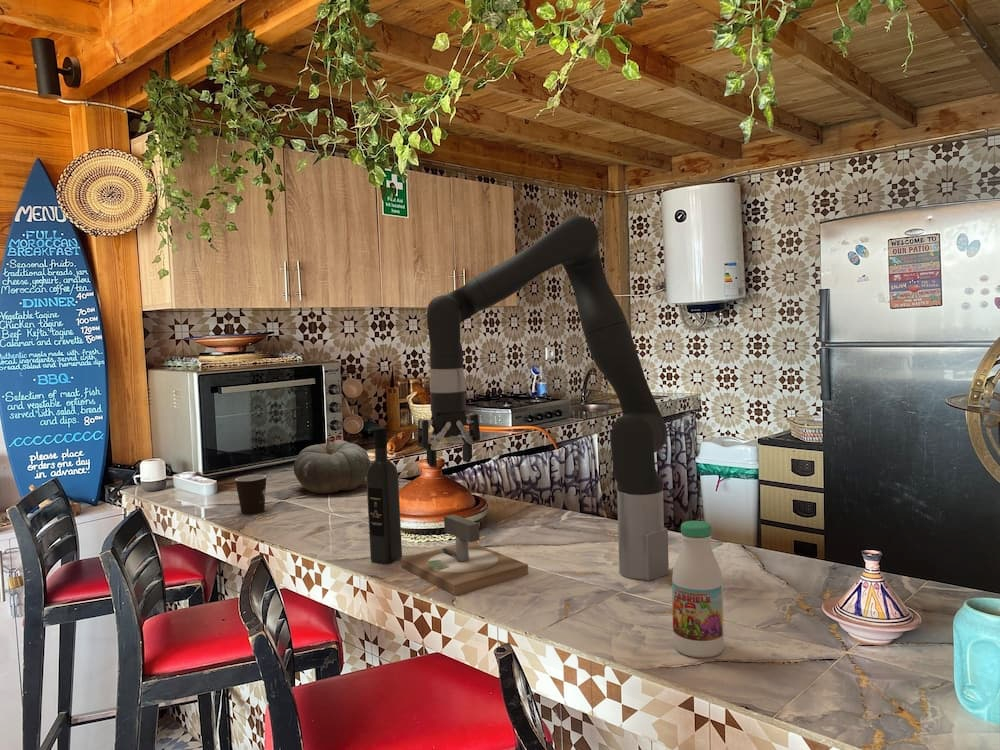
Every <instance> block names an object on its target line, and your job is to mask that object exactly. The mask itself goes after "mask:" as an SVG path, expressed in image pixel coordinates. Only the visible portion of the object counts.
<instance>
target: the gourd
mask: <svg viewBox="0 0 1000 750" xmlns="http://www.w3.org/2000/svg"><path fill="white" fill-rule="evenodd" d="M325 441H326V443H320V444H319V443H318V444H314V445H309V446H307V447H305V448H303V449H302V450H301V451H299V453H298V455H297V457H296V459H295V461H294V463H293V464H294V465H293V472H294V475H295V478H296V479H297V480H298V482H299V483H300V485H301V486H302V487H303V488H305V490H307V491H309V492H311V493H316V494H323V495H324V494H333V493H338V492H339V491H344V492H345V491H346V492H348V491H349V492H350V491H353V490H355V489H357V488H358V487H359V486H360V485H361V484H362V483H363V482H364V480H365V479H366V475H367V470H368V468H369V466H370V465H371V464H372V462H371V460H370V458H369V454H368V452H367V450H366V449H364V448H363V447H361V446H359V444H356V443H350V442H348V441H347V440H342V439H336V440H334V441H333V442H332V441H330V439H329V437H326V439H325Z"/></svg>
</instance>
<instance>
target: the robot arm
mask: <svg viewBox="0 0 1000 750" xmlns="http://www.w3.org/2000/svg"><path fill="white" fill-rule="evenodd" d="M599 242H600V235H599V230H598V228H597V226H596V224H595V223H594V222H593V221H592V220H591V219H590V218H588V217H585V216H582V215H575V216H571V217H568V218H567V219H564V220H563V221H561V223H559V224H557V225H556V226H555V227H554V228H552V229H551V230H550V231H549V232H548V233H546V234H545V235H544V236H543V237H541V238H539V239H538V240H537V241H535V242H534V243H532V244H531V245H530V246H528V247H526V248H525V249H523V250H521V251H520V252H518V253H516V254H515V255H513V256H512V257H509V258H508V259H506V260H504V261H503V262H500V263H499V264H497V265H495V266H492V268H489V269H486V271H484V272H482V273H480V274H478V275H476V276H474V277H473V278H471V279H469V280H468V281H467V282H466V283H465V284H464V285H462V286H460V287H458V288H457V289H454V290H452V291H451V292H449V293H447V294H443V295H437V296H436V297H435V296H434V297H433V298H432V299H431V300H430V301H429V303H428V305H427V309H426V324H427V332H428V339H429V365H430V366H429V367H430V371H429V372H430V373H429V397H430V399H429V400H430V412H431V418H430V419H423V418H418V420H417V446H418V448H422V449H425V451H426V463H427V465H429V468H433V469H434V468H437V466H438V459H437V457H438V456H437V447H438V445H439V443H441V442H442V440H443V439H444V438H445V439H447V438H450V437H458V438H459V439H460V440H461V442H462V443H463V444H462V445H461V448H462V461H463V462H464V463H471V461H472V459H473V444H474V443H475V442H479V441H480V440H481V435H480V434H481V431H480V421H479V414H476V413H471V412H469V413H467V414H466V409H467V404H466V403H467V401H466V378H465V377H466V376H465V372H464V352H463V346H462V343H461V323H463V322H464V321H466V320H468V319H469V318H471V317H473V316H474V315H476V314H478V313H479V312H481V311H484V310H486V309H488V308H490V307H492V306H494V305H496V304H497V303H500V302H501V301H504V300H505V299H507V298H509V297H511V296H512V295H514V294H516V293H517V292H518V291H520V290H521V289H523V288H524V287H525V286H526V285H528V284H529V283H530V282H531V281H532V280H534V279H535V278H537V277H538V276H540V275H541V274H543V273H545V272H546V271H549V270H550V269H552V268H554V267H557V266H559V265H562V267H563V270H564V271H565V273H566V275H567V277H568V279H569V283H570V284H571V286H572V289H573V293H574V296H575V300H576V306H577V311H578V315H579V316H578V317H579V320H580V324H581V329H582V332H583V336H584V338H585V342H586V344H587V347H588V349H589V350H588V351H589V352H590V353H589V354H590V356H591V357H592V360H593V362H594V364H595V365H596V366H597V368H598V370H599V371H600V372H601V374H602V375H603V376H604V378H605V379H606V380H607V382H608V383H609V385H610V386H611V387H612V388H613V391H614V392H615V395H616V396H617V399H618V402H619V405H620V409H621V412H622V415H621V416H619V417H618V418H617V419H616V420H615V421H614V423H613V425H612V428H611V433H610V449H611V450H610V453H611V463H612V464H611V465H612V474H613V477H614V479H615V482H616V491H617V498H616V499H617V528H618V529H617V532H618V533H617V535H618V536H617V537H618V539H617V540H618V564H619V565H618V569H619V573H620V575H622V576H624V577H626V578H629V579H634V580H645V581H651V580H655V579H658V578H660V577H664V576H666V575H669V572H670V570H669V569H670V567H669V561H670V560H669V530H668V528H667V527H665V525H664V524H665V523H664V522H665V520H664V519H665V518H664V517H665V516H664V481H663V477H662V475H661V474H659V473H657V469H656V462H655V460H656V459H655V458H656V457H655V453H657V452H658V451H660V450H661V449H662V448H663V447H664V446H665V444H666V442H667V438H668V437H667V436H668V429H667V426H666V423H665V420H664V417H663V416H662V412H661V411H660V408H659V406H658V405H657V402H656V400H655V398H654V395H653V393H652V392H651V388H650V387H649V384H648V382H647V379H646V375H645V373H644V369H643V366H642V363H641V360H640V357H639V354H638V352H637V348H636V345H635V341H634V338H633V336H632V333H631V332H632V331H631V330H630V327H629V323H628V320H627V318H626V316H625V314H624V311H623V310H622V309H623V308H621V305H620V303H619V301H618V299H617V298H616V296H615V294H614V292H613V291H612V289H611V287H610V285H609V283H608V280H607V278H606V274H605V271H604V267H603V266H604V265H603V263H602V258H601V253H600V248H599V247H600V246H599ZM466 423H467V424H468V430H467V429H466V428H465V427H464V426H465V425H466ZM431 427H432V428H433V429H432V431H431V432H430V434H429V430H430V429H431Z"/></svg>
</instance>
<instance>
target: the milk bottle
mask: <svg viewBox="0 0 1000 750" xmlns="http://www.w3.org/2000/svg"><path fill="white" fill-rule="evenodd" d="M680 533H681V535H680V538H681V539H682V545H681V548H680V551H679V554H678V557H677V558H676V560H675V562H674V566H673V570H672V577H671V578H672V583H671V585H672V587H671V593H672V595H671V596H672V597H671V598H672V605H671V606H672V640H673V646H674V648H675V650H676V651H677V652H679V653H680V654H683V655H685V656H688V657H692V658H701V659H702V658H704V659H705V658H712V657H716V656H719V655H720V654H722V652H723V650H724V647H725V646H724V645H725V637H724V636H725V630H724V629H725V627H724V626H725V624H724V621H725V620H724V593H723V592H724V589H723V577H722V571H721V568H720V565H719V563H718V561H717V558H716V557H715V554H714V552H713V550H712V545H711V539H712V524H710V523H709V522H707V521H704V520H703V521H701V520H687V521H683V522H682V523H681V524H680Z"/></svg>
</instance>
